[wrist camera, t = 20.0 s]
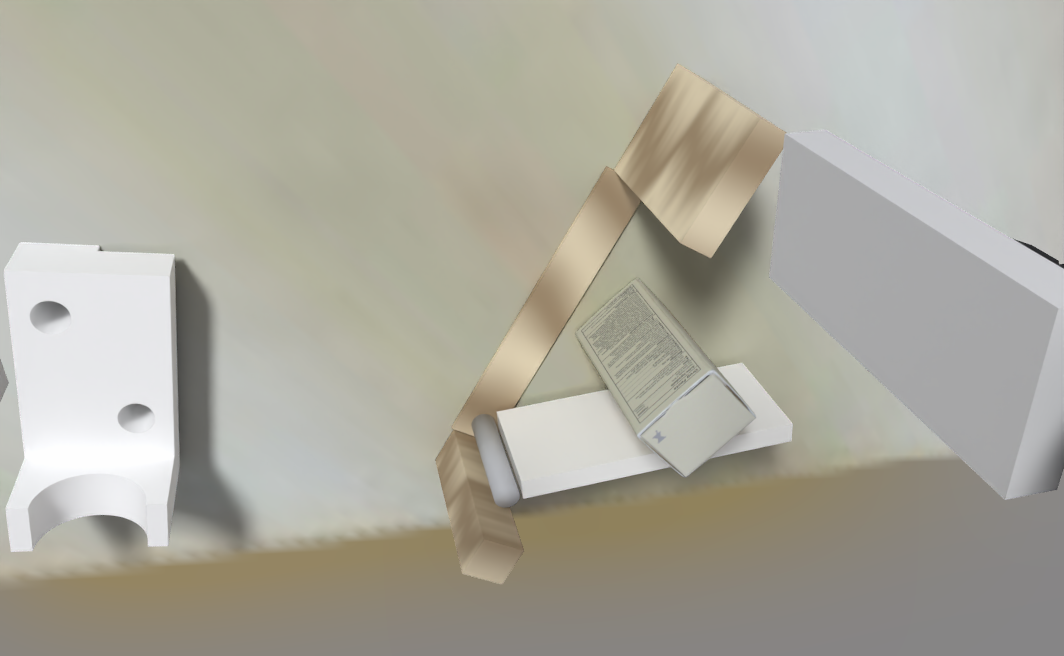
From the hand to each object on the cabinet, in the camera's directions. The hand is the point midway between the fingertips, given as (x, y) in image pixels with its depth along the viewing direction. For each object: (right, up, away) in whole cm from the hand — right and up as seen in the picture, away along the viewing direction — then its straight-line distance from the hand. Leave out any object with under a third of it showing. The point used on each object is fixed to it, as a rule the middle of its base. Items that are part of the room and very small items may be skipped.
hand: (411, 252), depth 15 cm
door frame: (+4, +1, +38) cm, 39 cm away
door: (+7, -6, +43) cm, 44 cm away
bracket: (-21, -3, +35) cm, 41 cm away
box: (+8, -1, +41) cm, 42 cm away
